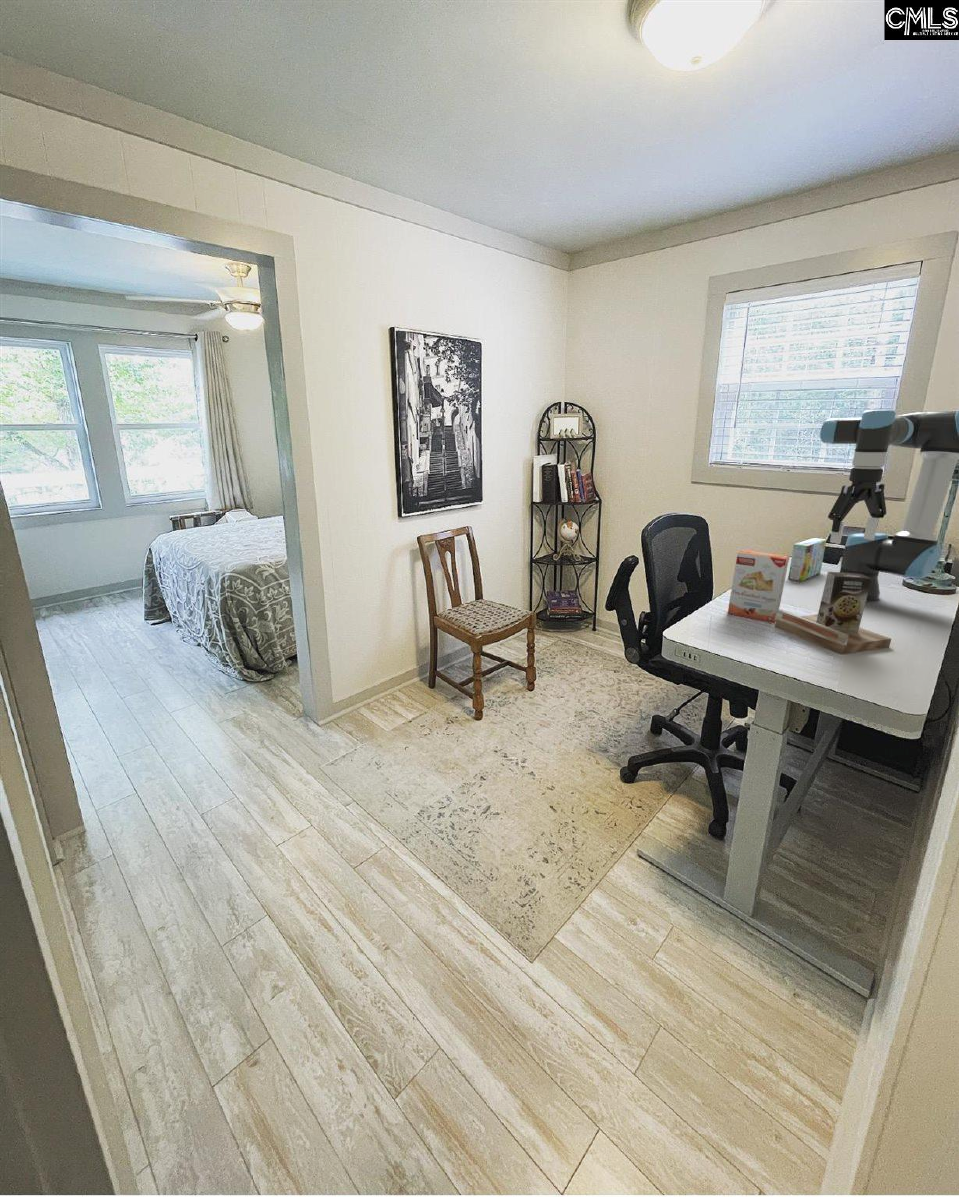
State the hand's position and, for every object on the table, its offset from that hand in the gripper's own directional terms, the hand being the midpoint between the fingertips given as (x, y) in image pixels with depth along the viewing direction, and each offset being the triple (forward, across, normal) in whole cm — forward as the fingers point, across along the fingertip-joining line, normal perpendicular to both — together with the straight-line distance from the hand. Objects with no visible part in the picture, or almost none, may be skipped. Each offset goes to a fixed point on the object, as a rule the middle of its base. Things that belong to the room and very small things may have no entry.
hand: (852, 541), depth 156 cm
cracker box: (+26, +18, -14) cm, 35 cm away
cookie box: (+24, +8, +7) cm, 26 cm away
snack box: (+29, -44, -48) cm, 72 cm away
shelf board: (+26, +11, +7) cm, 29 cm away
